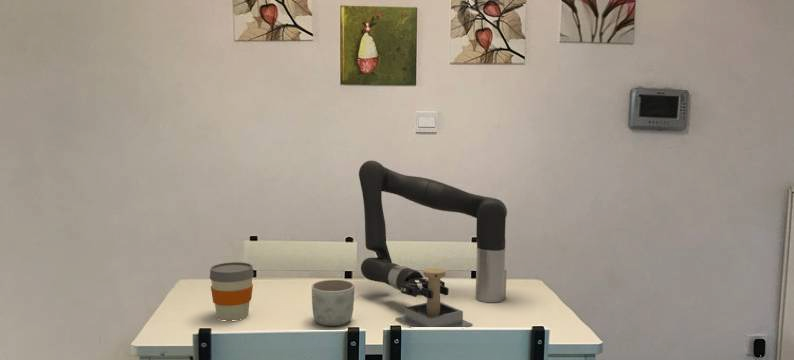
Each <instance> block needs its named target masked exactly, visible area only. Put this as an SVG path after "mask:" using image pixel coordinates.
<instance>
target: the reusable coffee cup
mask: <svg viewBox="0 0 794 360" xmlns="http://www.w3.org/2000/svg"><path fill="white" fill-rule="evenodd" d="M209 269H210V270H209V271H210V272H209V279H210V282H211V286H210V292H211V297H212V303H213V304H214V305H215V306H214V308H215V314H216V319H217V318H218V319H220V320H226V321H232V320H239V321H241V320H240V319H243V318H245V319H246V317H247V316H249V309H250V302H251V300H252V297H253V289H254V288H253V287H254V284H253V278H254V267H253V265H252V264H251V263H249V262H241V261H240V262H239V261H238V262H236V261H233V262H223V263H218V264H215V265H212V266H211V267H210V268H209ZM247 318H248V317H247ZM218 319H217V320H218ZM220 320H219V321H220ZM243 320H244V319H243ZM226 321H225V322H226ZM232 322H233V321H232Z"/></svg>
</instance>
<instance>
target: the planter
mask: <svg viewBox="0 0 794 360" xmlns="http://www.w3.org/2000/svg"><path fill="white" fill-rule="evenodd" d="M354 303H355V284H354V283H353V282H351V281H349V280H344V279H324V280H319V281H316V282H314V283H312V285H311V305H312V307H311V308H312V314H313V315H312V316H313V318H314V320H315V322H316V323H318V324H320V325H322V326H326V327H338V326H343V325H346V324H348V322H350V321H351V320H352V317H353V313H354Z"/></svg>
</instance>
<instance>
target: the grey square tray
mask: <svg viewBox="0 0 794 360" xmlns="http://www.w3.org/2000/svg"><path fill="white" fill-rule="evenodd" d="M395 321H396V322H398V323H400V324H402V323H403V324H402V325H403V326H406V325H407V326H406V327H408V326H409V327H408V328H410V327H466V328H469V327H468V326H470V327H472V326H473V323H471V322H469V321H467V320H465V319H464V311H463V310H461V309H458V308H456V307H454V306H451V305H449V304H446V303H444V302H443V301H440V313H439V316H435V317H429V316H428V315H427V302H424V303H418V304H414V305H410V306H409V305H408V306H405V307H404V316H403V315H402V316H400V317H395Z"/></svg>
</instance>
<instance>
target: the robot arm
mask: <svg viewBox="0 0 794 360" xmlns="http://www.w3.org/2000/svg"><path fill="white" fill-rule="evenodd" d="M358 170H359V171H358V178H359V182H360V183H359V184H360V189H361V193H362V199H363V200H362V201H363V209H364V210H363V211H364V235H365V236H364V237H365V239H364V240H365V241H364V242H365V248H366V250H368V251H372V252H374V253H375V255H376V257H368V258H365V259H364V260H363V261H362V262H361V265H360V272H361V274H362V275H363V277H364V278H365V279H367V280H369V281H373V282H378V283H383V284H386V285H388V286H390V287H393V288H394V289H395V290H398V291H400V293H401V294H404V295H408V296H410V297H414V298H417V296H419V297H425V298H426V299H427V298H429V299H432V298H433V292H432V291H431V290H428V278H427V277H424V275H423V273H421V272H420V271H419V270H415V269H412V268H410V267H408V266H404V265H399V264H398V263H393V262H392V261H393V260H392V259H391V254H390V251H389V248H388V245H387V230H386V229H387V228H386V227H387V225H386V219H385V215H384V208H383V200H382V196H383V195H382V192H383V193H388V194H393V195H396V196H399V197H402V198H403V199H406V200H408V201H411V202H413V203H415V204H418V205H421V206H424V207H427V208H429V209H433V210H437V211H442V212H448V213H449V212H450V213H459V214H462V215H463V214H464V215H466V216H469V217H472V218H474V219H476V229H475V230H476V232H475V233H476V235H475V236H476V265H475V266H476V271H475V273H476V274H475V299H476V300H477V301H480V302H483V303H500V302H503V300H505V299H506V298H507V274H508V273H507V269H505V268H506V267H505V265H506V221H507V220H506V219H507V215H508V210H507V209H508V208H507V206H506V204H505V203H504V202H503V201H502V200H500V199H498V198H495V197H489V196H484V195H479V194H474V193H471V192H467V191H464V190H463V189H460V188H457V187H455V186H453V185H450V184H446V183H443V182H440V181H438V180H434V179H432V178H431V179H430V178H426V177H422V176H414V175H406V174H402V173H400V172H397V171H394V170H392V169H389V168H387V167H385V166H384V165H382V163H380V162H378V161H377V160H366V161H365V162H363V164H361V166H360V168H359V169H358ZM445 284H446V282H445V281H443V280H442V279H440V295H444V296H449V287H446V286H445Z"/></svg>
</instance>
